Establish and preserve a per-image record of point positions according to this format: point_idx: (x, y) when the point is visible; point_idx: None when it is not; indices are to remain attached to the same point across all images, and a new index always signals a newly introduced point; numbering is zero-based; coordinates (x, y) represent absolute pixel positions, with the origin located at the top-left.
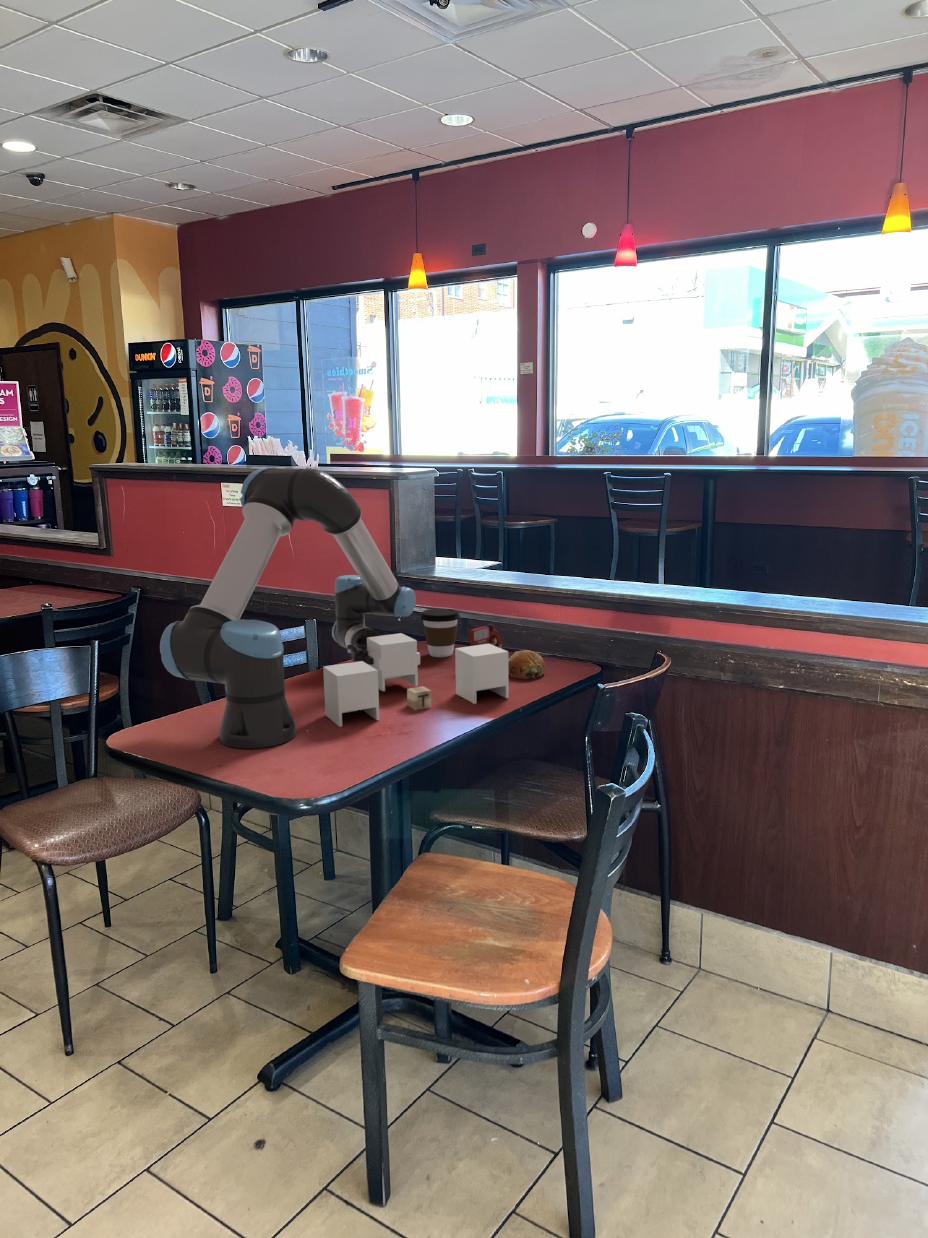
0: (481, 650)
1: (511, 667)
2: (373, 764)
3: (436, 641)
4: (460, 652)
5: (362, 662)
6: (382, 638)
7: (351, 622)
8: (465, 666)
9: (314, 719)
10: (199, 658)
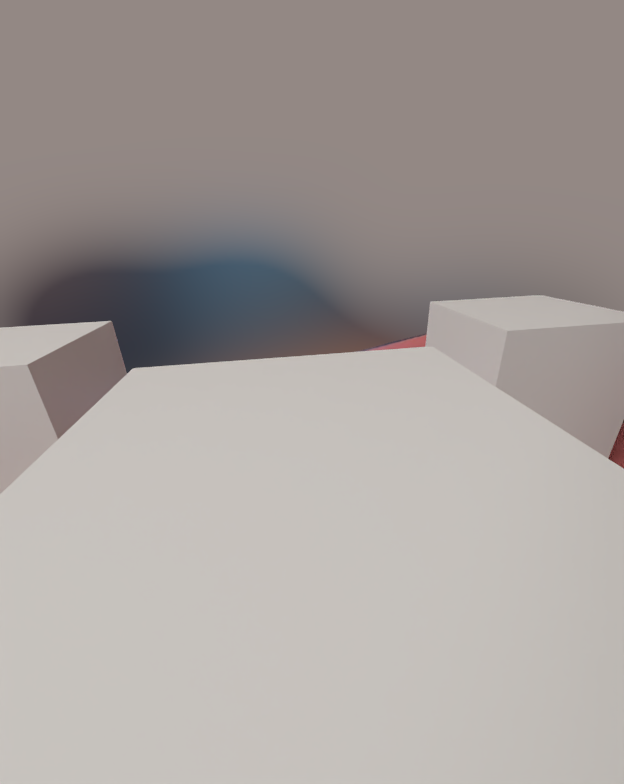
0: (4, 341)
1: None
2: (422, 345)
3: None
4: (63, 355)
5: (500, 324)
6: (431, 485)
7: None
8: (99, 385)
9: (617, 464)
10: None
